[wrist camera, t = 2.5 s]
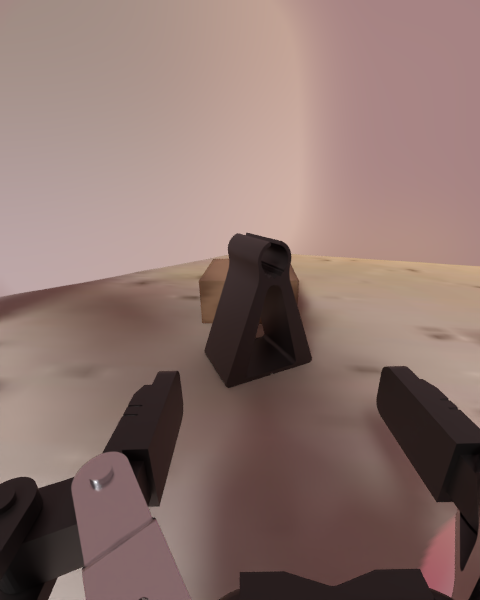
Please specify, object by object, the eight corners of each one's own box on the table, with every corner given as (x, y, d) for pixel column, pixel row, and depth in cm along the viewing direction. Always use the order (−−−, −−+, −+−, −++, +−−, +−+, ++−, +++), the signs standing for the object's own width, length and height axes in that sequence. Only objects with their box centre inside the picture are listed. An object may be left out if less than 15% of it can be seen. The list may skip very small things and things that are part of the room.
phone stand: (278, 335, 31) (282, 229, 27) (311, 362, 26) (323, 237, 22) (204, 354, 28) (195, 236, 24) (225, 388, 23) (219, 246, 19)
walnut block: (202, 325, 35) (198, 280, 33) (215, 293, 46) (213, 259, 44) (296, 325, 34) (298, 280, 32) (286, 293, 45) (287, 258, 43)
